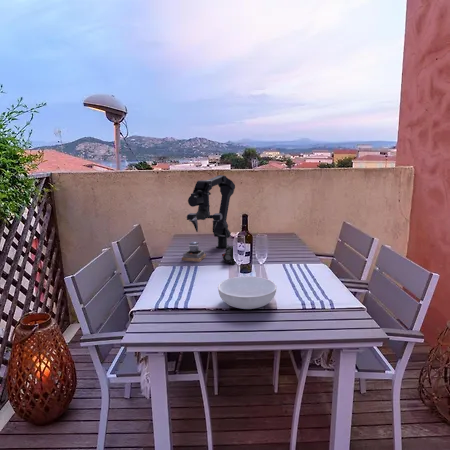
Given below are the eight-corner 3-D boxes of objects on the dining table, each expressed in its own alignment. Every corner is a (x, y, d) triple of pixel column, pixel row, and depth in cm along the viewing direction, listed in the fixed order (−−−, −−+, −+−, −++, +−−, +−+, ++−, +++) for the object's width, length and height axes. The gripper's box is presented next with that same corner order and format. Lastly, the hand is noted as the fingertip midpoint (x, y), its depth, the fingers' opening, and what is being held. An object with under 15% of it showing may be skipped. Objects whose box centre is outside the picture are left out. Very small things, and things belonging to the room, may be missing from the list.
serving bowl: (241, 288, 138) (241, 272, 137) (287, 301, 125) (287, 283, 124) (206, 305, 122) (205, 287, 121) (254, 322, 109) (254, 302, 108)
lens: (187, 255, 181) (186, 242, 180) (194, 253, 185) (194, 240, 183) (193, 257, 177) (192, 244, 176) (201, 255, 181) (200, 242, 180)
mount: (188, 255, 187) (188, 248, 187) (206, 256, 185) (205, 249, 184) (181, 260, 178) (181, 253, 177) (199, 261, 175) (199, 254, 175)
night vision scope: (233, 260, 185) (247, 249, 182) (226, 271, 168) (241, 259, 165) (223, 249, 185) (237, 238, 182) (215, 258, 168) (231, 247, 165)
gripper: (182, 206, 179) (184, 235, 182) (217, 206, 175) (218, 236, 178) (189, 203, 189) (190, 230, 193) (222, 203, 185) (223, 231, 189)
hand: (205, 232), depth 188 cm, fingers open, 9 cm apart
